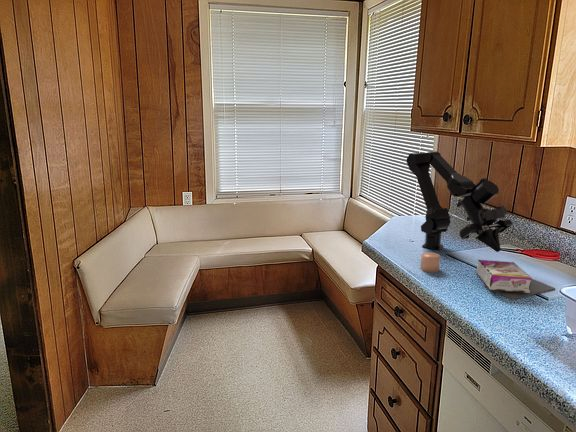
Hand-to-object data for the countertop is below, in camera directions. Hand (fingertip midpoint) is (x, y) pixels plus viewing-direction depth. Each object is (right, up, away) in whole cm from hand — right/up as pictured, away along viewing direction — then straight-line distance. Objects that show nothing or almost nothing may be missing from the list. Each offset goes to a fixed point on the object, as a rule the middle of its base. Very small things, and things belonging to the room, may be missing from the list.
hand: (498, 251), depth 136 cm
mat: (+2, -10, -9) cm, 14 cm away
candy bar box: (-1, -5, +1) cm, 5 cm away
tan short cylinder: (-21, -7, +6) cm, 22 cm away
